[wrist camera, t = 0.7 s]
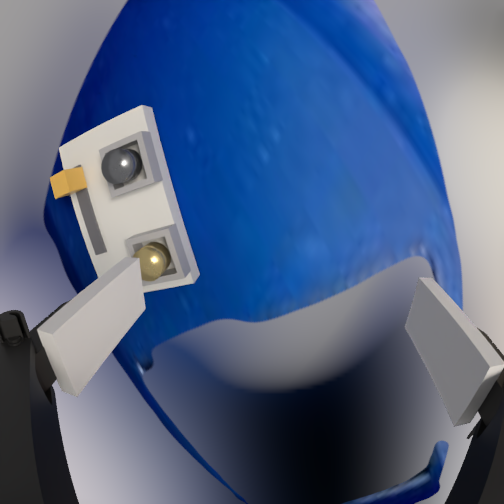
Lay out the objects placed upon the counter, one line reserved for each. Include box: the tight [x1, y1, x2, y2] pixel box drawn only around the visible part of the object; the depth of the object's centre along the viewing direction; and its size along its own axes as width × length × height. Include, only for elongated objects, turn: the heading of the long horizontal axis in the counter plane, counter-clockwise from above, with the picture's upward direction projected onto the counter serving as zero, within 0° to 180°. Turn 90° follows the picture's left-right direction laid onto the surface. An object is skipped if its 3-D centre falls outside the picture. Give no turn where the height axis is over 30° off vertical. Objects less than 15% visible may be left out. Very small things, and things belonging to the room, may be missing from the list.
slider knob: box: [50, 167, 87, 199], centre depth 34 cm, size 3×3×4 cm
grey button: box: [101, 149, 142, 184], centre depth 31 cm, size 4×4×3 cm
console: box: [59, 105, 200, 292], centre depth 37 cm, size 24×15×6 cm, turn 14°
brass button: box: [133, 242, 171, 282], centre depth 35 cm, size 4×4×3 cm
